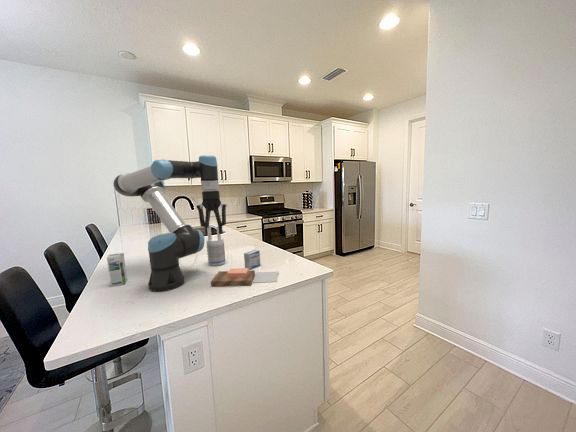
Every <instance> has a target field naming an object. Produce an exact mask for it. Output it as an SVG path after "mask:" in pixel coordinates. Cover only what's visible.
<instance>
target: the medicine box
mask: <svg viewBox="0 0 576 432" xmlns="http://www.w3.org/2000/svg"><path fill="white" fill-rule="evenodd" d="M243 259H244V268H249V271H251V270H254V269H255V268H257V267H259V266H261V253H260V250H259V249H254V250H253V249H252V250H250V251H246V252H244V253H243Z"/></svg>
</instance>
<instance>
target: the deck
mask: <svg viewBox="0 0 576 432" xmlns="http://www.w3.org/2000/svg"><path fill="white" fill-rule="evenodd" d="M228 272H229V270H226V271H225V270H224V271H222V270H220V271H218V272H217V273H216V274H215V276H214V277H213V278H212V279H211V281H210V287H211V288H212V287H215V288H220V287H223V288H224V287H246V286H247V287H248V286H250V287H251V286H252V284H253V281H254V278H255V276H256V271H255V270H254V269H251V270H249V273H248V275H247V277H230V278H227V273H228Z"/></svg>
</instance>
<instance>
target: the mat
mask: <svg viewBox="0 0 576 432" xmlns="http://www.w3.org/2000/svg"><path fill="white" fill-rule="evenodd" d="M278 275H279V271H262V272H261V271H257V272H255V276H254V279H253V282H252V284H257V283H258V284H259V283H277V282H278V277H279V276H278Z"/></svg>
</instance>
